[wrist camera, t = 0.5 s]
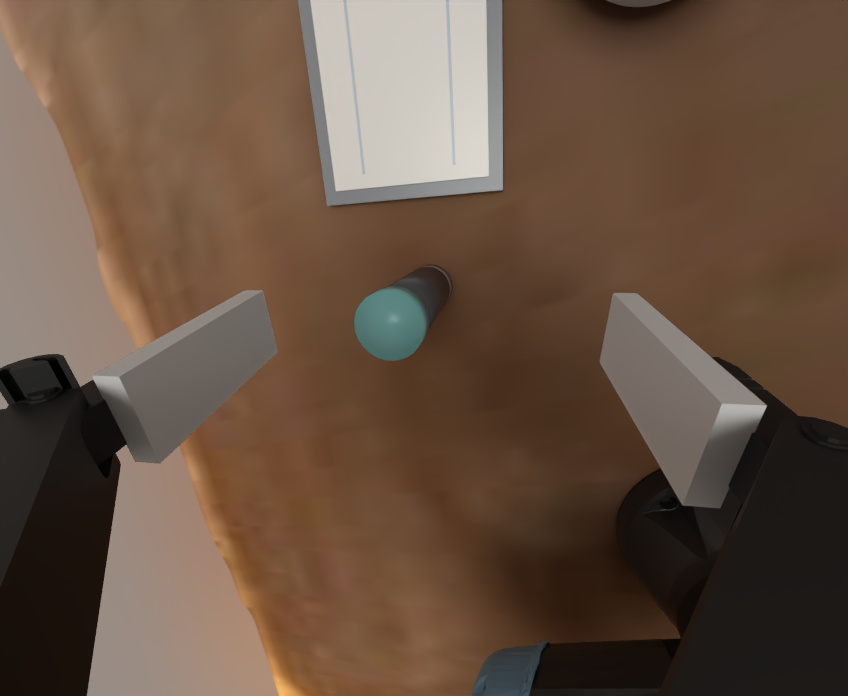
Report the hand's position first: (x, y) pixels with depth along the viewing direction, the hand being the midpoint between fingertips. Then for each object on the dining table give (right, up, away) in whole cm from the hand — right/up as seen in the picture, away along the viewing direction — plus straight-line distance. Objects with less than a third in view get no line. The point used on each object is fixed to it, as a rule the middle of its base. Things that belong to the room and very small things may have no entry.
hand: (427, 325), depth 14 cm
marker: (0, +4, +17) cm, 18 cm away
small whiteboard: (-2, +21, +12) cm, 24 cm away
